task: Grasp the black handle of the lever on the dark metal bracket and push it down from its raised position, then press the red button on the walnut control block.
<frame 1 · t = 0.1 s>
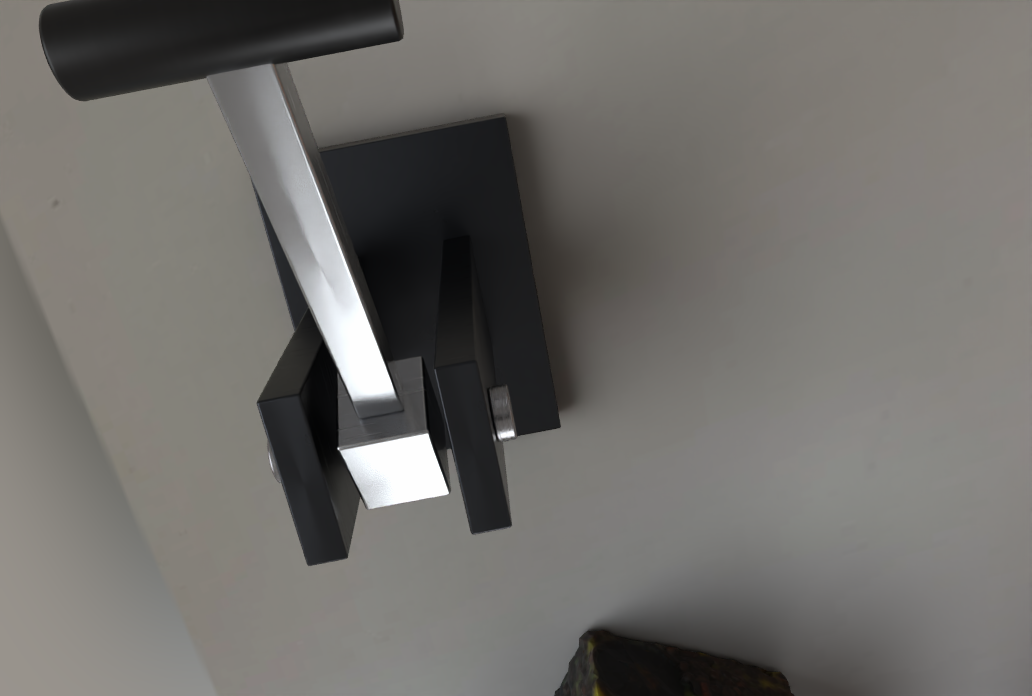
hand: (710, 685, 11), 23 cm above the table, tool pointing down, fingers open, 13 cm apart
bracket: (415, 295, 33), on the table
lever: (335, 288, 18), point 14 cm above the table, hinge at 28.0°
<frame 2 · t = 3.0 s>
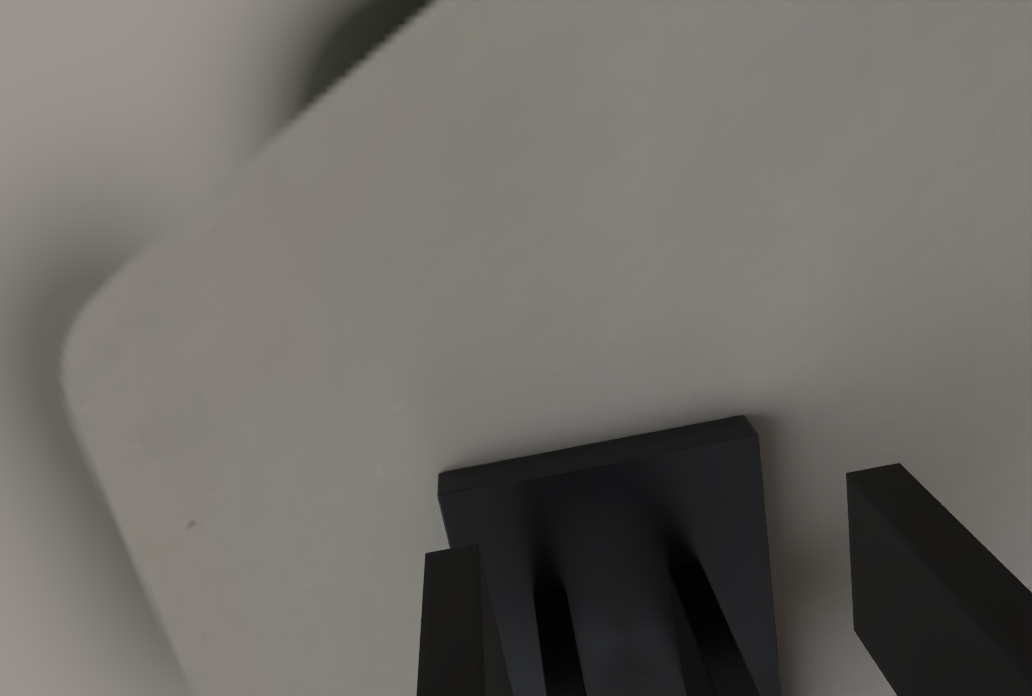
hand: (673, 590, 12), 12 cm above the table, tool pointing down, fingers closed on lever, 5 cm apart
bracket: (619, 612, 27), on the table
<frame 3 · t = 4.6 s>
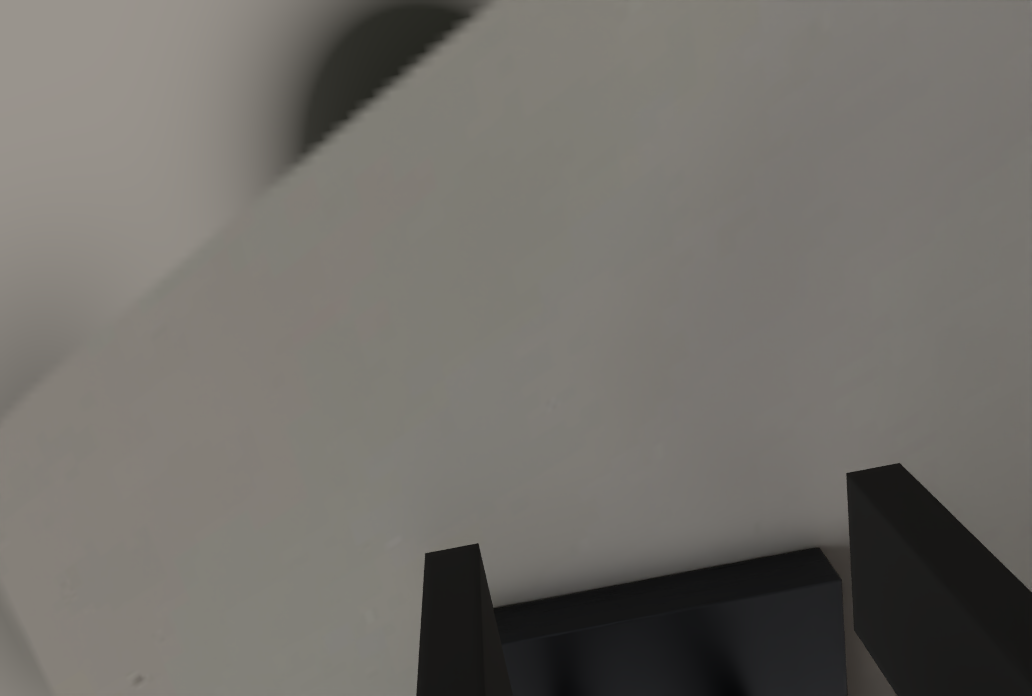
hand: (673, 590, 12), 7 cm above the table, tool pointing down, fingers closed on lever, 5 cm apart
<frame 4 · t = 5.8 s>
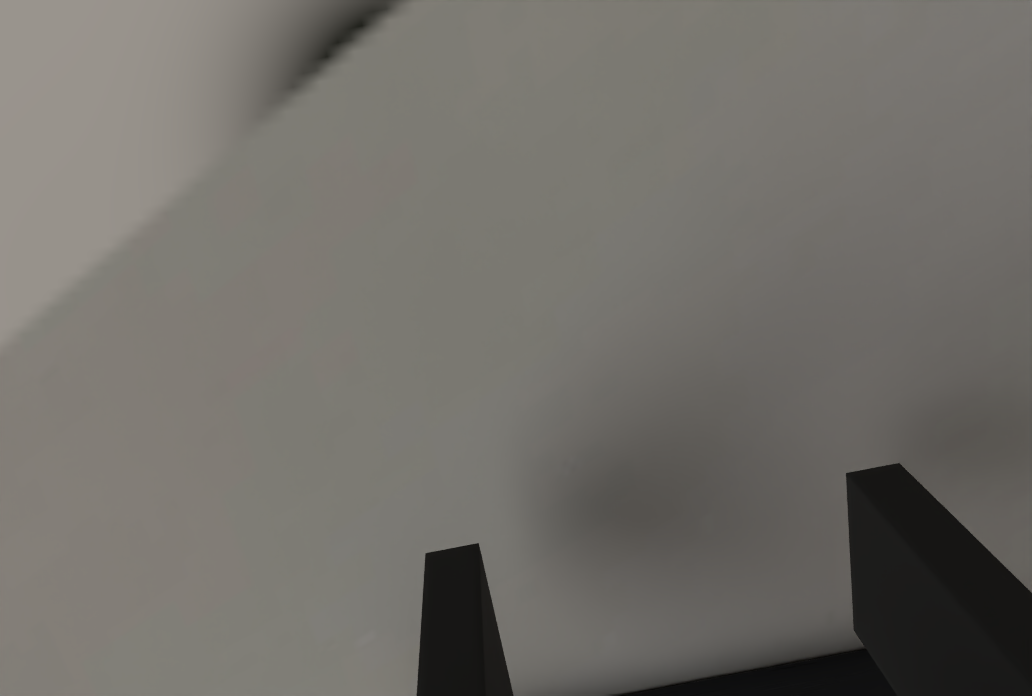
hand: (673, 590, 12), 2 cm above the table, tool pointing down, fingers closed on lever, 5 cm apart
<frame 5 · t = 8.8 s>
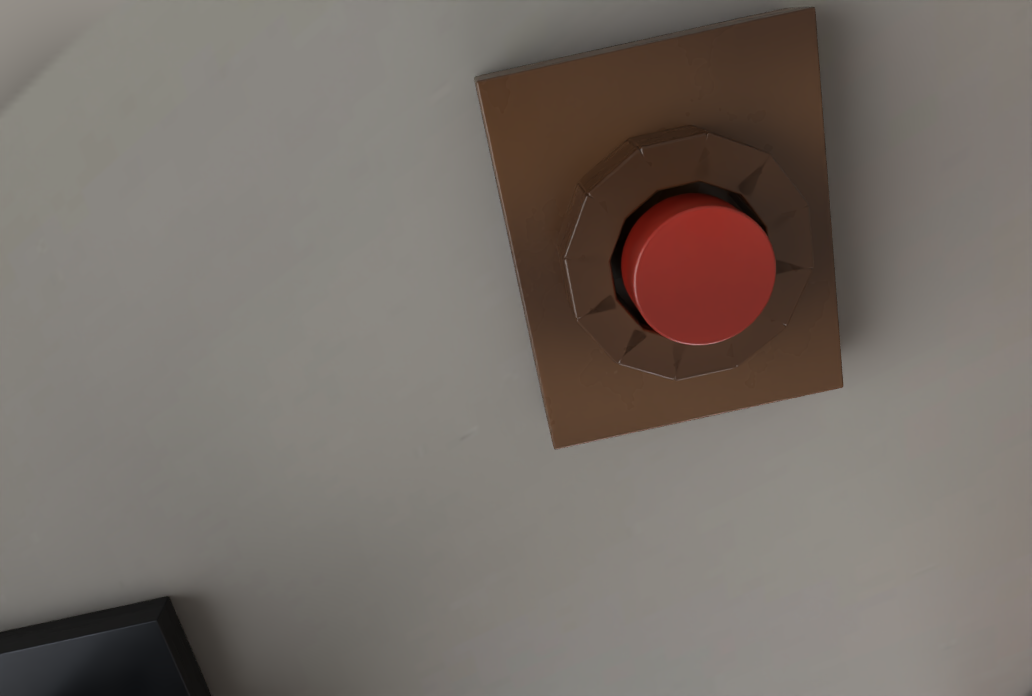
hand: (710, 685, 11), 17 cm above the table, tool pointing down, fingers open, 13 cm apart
button block: (657, 229, 26), on the table
button: (696, 268, 22), point 5 cm above the table, slide at 0.2 cm
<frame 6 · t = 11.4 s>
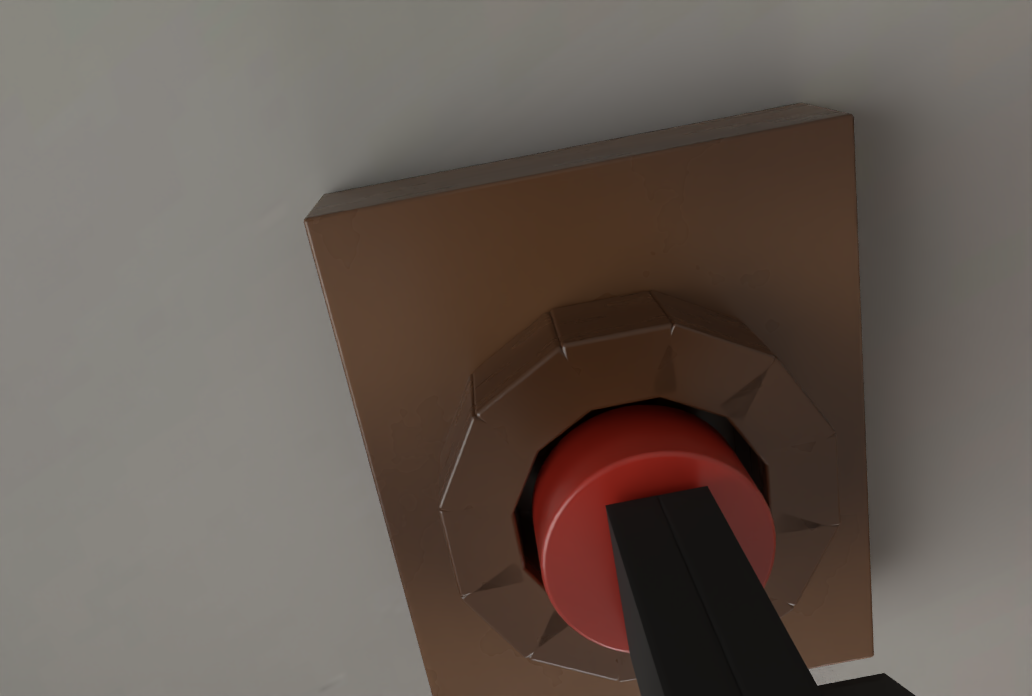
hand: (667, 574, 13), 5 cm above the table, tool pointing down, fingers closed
button block: (604, 414, 18), on the table
button: (647, 527, 14), point 4 cm above the table, slide at -0.1 cm, touching gripper
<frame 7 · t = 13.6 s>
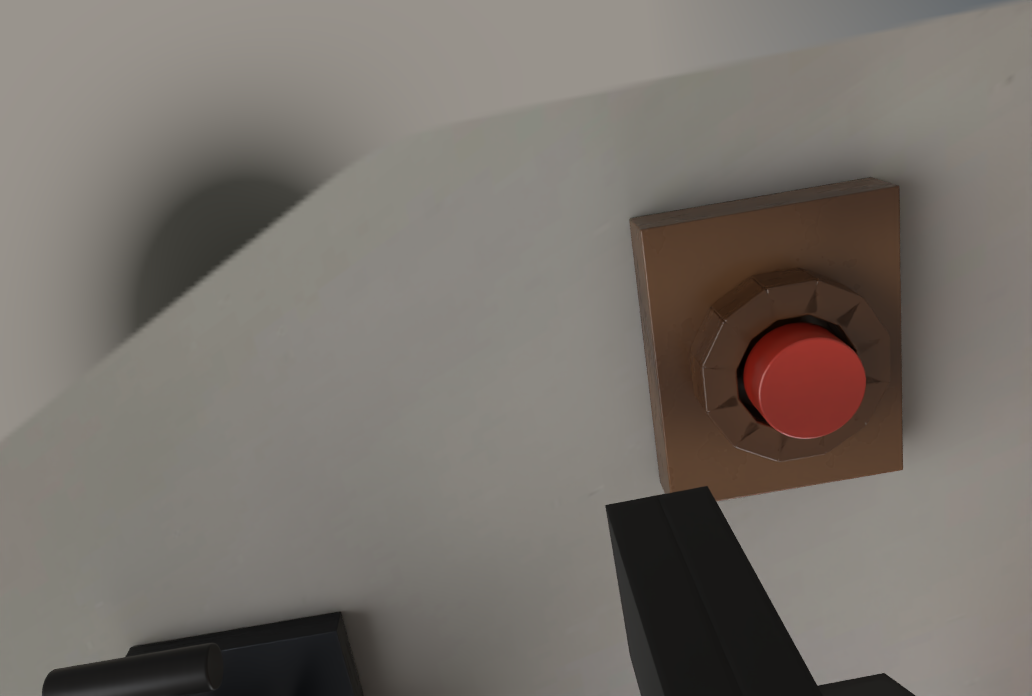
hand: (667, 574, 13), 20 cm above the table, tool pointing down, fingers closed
button block: (760, 338, 33), on the table
button: (803, 380, 29), point 5 cm above the table, slide at 0.1 cm
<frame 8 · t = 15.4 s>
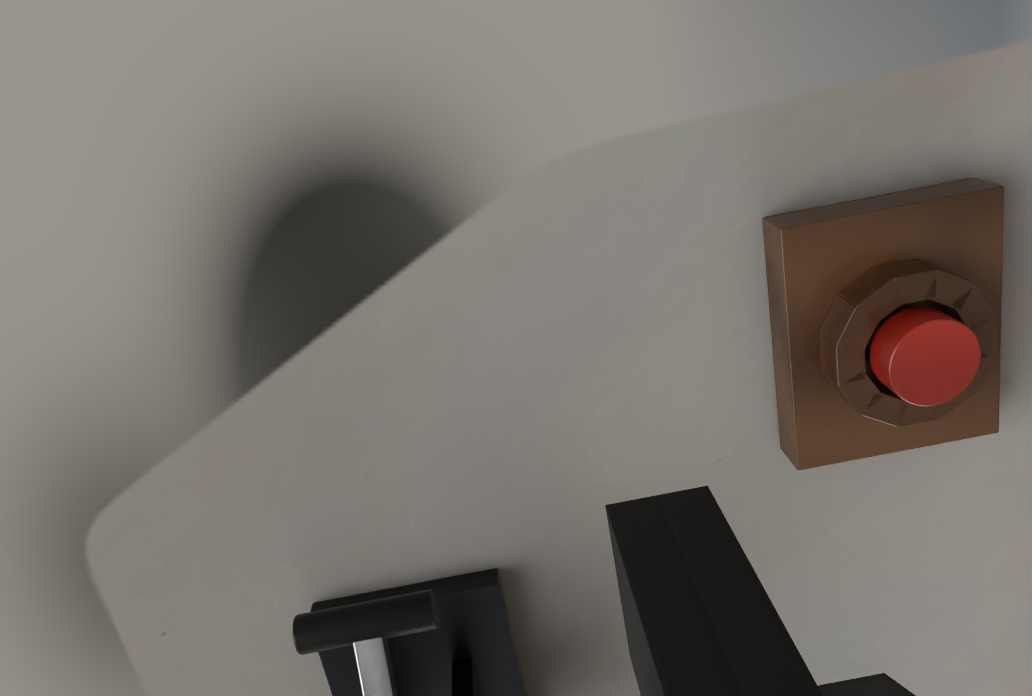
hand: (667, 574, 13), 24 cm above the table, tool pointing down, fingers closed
bracket: (431, 683, 43), on the table
button block: (871, 319, 38), on the table
button: (923, 356, 34), point 5 cm above the table, slide at 0.1 cm
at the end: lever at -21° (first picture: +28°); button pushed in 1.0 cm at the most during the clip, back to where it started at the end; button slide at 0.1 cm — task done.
